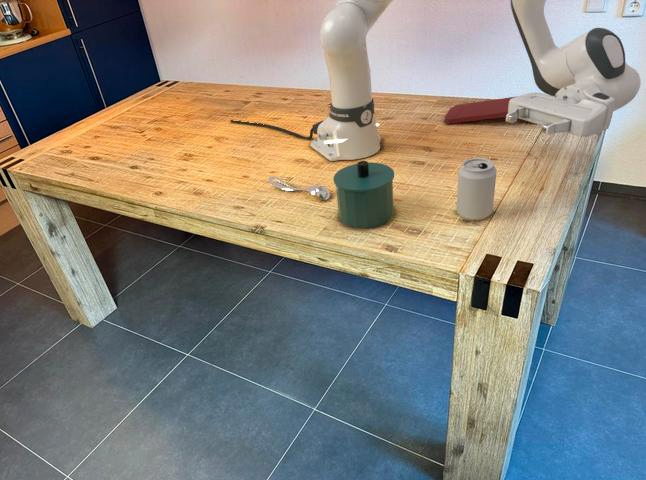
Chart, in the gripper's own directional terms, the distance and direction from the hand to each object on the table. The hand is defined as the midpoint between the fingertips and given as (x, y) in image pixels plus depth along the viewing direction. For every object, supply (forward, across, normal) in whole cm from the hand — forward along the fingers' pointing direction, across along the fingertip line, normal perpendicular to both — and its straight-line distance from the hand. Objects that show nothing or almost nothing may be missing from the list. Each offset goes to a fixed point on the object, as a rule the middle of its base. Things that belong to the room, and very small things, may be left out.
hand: (526, 124), depth 105 cm
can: (+12, 0, +17) cm, 21 cm away
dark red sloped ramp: (-29, -38, +17) cm, 51 cm away
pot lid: (+30, -16, +7) cm, 35 cm away
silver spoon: (+37, -38, +16) cm, 55 cm away
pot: (+30, -16, +16) cm, 38 cm away
